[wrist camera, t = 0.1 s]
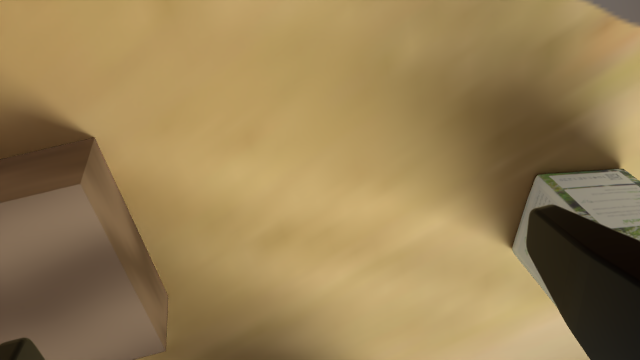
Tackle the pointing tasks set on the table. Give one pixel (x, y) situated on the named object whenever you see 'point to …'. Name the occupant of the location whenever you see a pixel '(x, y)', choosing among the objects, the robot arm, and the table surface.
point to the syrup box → (583, 204)
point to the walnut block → (75, 260)
